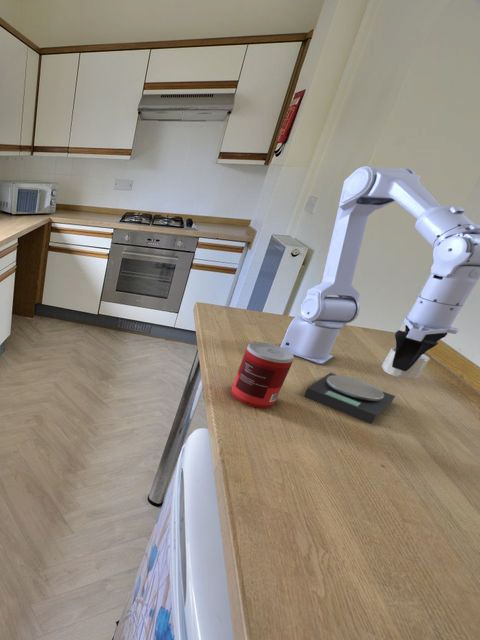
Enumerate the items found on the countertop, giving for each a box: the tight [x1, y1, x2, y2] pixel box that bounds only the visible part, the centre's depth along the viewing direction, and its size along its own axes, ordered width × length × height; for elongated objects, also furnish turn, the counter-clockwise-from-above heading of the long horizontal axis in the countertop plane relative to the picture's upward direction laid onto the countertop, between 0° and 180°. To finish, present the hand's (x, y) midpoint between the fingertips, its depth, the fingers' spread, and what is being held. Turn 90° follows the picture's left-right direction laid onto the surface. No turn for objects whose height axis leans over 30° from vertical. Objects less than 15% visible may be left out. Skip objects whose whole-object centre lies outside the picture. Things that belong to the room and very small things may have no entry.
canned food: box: [231, 341, 295, 409], centre depth 82 cm, size 8×8×11 cm
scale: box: [303, 372, 396, 424], centre depth 84 cm, size 11×13×2 cm
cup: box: [381, 347, 431, 381], centre depth 81 cm, size 5×5×4 cm
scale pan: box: [326, 374, 384, 401], centre depth 84 cm, size 9×9×1 cm
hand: (403, 365), depth 81 cm, fingers closed on cup, 5 cm apart
